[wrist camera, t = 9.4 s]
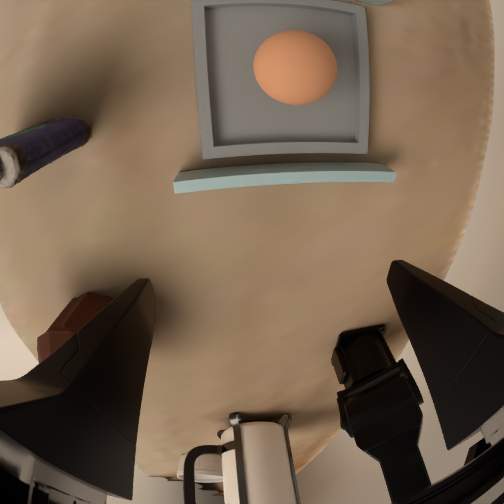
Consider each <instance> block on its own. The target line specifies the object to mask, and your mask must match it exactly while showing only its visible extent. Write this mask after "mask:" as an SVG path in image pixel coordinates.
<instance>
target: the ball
mask: <svg viewBox="0 0 504 504" xmlns="http://www.w3.org/2000/svg"><path fill="white" fill-rule="evenodd" d="M253 69H254V74H255V78H256V80H257V82H258V84H259V85H260V87H261V88H262V89H263V91H264V92H265V93H266V94H268V95H269V96H270V97H272V98H273V99H275V100H277V101H279V102H282V103H285V104H290V105H305V104H310V103H313V102H315V101H318V100H319V99H321V98H323V97H324V96H325V95H326V94H327V93H328V92H329V91H330V90H331V88H332V87H333V85H334V83H335V81H336V77H337V62H336V59H335V56H334V54H333V52H332V50H331V49H330V47H329V46H328V45H327V44H326V43H325V42H324V41H323V40H322V39H320V38H319V37H317V36H315V35H313V34H311V33H308V32H305V31H300V30H287V31H282V32H278V33H276V34H273V35H272V36H270V37H268V38H267V39H266V40H265V41H264V42H263V43H262V44H261V45H260V46H259V48H258V50H257V52H256V54H255V57H254V62H253Z"/></svg>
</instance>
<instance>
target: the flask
mask: <svg viewBox="0 0 504 504" xmlns="http://www.w3.org/2000/svg"><path fill="white" fill-rule="evenodd" d="M90 133H91V128H90V125H89V123H88V121H87V120H85V119H83V118H77V117H70V118H61V119H56V120H55V119H54V120H52V121H47V122H44V123H43V124H40V125H38V126H35V127H31V128H28V129H25V130H23V131H20V132H17V133H15V134H12V135H9V136H6V137H4V138H2V139H0V188H2V189H3V188H11V187H13V186H14V185H16V184H17V183H19V182H21V181H22V180H23V179H24V178H26V177H28V176H29V175H30V174H32V173H34V172H36V171H38V170H39V169H40V168H42V167H44V166H46V165H47V164H49V163H52V162H53V161H55V160H56V159H58V158H60V157H62V156H63V155H65V154H67V153H69V152H71V151H73V150H75V149H77V148H79V147H82V146H84V145H85V144H86V142H87V141H88V140H89V138H91V135H90Z"/></svg>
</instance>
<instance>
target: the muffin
mask: <svg viewBox="0 0 504 504" xmlns="http://www.w3.org/2000/svg"><path fill="white" fill-rule="evenodd" d="M112 300H114V299H113V298H112V297H106V296H99V295H96V294H93V293H90V292H87V293H85V294H84V295H82V296H81V297H77V298H74V299H72V300H71V301H70V302H69V304H68V305H67V306H66V307H65V309H64V310H63V311H62V312H61V313H60V315H59V316H58V317H57V319H56V320H55V321H54V322H53V324H52V325H51V326H50V328H49V329H48V330H47V331H46V332H45V333H44V334H42V335H41V336H39V337H38V339H37V351H38V359H39V363H41V362H42V361H43V360H44V359H46V358H47V357H48V356H49V355H51V354H52V353H53V352H54V351H55V350H57V349H58V348H59V347H60V346H61V345H63V344H64V343H65V342H66V341H67V340H68V339H69V338H70V337H72V336H73V335H74V334H75V333H77V331H78V330H79V329H80V328H82V327H83V326H84V325H85V324H86V323H87V322H88V321H89V320H91V319H92V318H93V317H94V316H95V315H96V314H97V313H99V312H100V311H101V310H102V309H103V308H104V307H105V306H107V305H108V304H109V303H110V302H111V301H112Z"/></svg>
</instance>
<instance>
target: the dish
mask: <svg viewBox="0 0 504 504" xmlns="http://www.w3.org/2000/svg"><path fill="white" fill-rule="evenodd" d="M192 26H193V46H194V63H195V78H196V91H197V103H198V115H199V126H200V136H201V146H202V156H203V160H204V159H213V158H223V157H235V156H248V155H265V154H288V153H354V154H367V152H368V135H369V105H370V78H369V50H368V34H367V23H366V13H365V7H363V6H359V5H354V4H350V3H345V2H339V1H334V0H192ZM287 30H300V31H305V32H308V33H311V34H313V35H315V36H317V37H319V38H320V39H322V40H323V41H324V42H325V43H326V44H327V45H328V46H329V47H330V49H331V50H332V52H333V54H334V56H335V59H336V62H337V77H336V81H335V83H334V85H333V87H332V88H331V90H330V91H329V92H328V93H327V94H326V95H325V96H324V97H323V98H321V99H319V100H318V101H315V102H313V103H310V104H305V105H290V104H285V103H282V102H279V101H277V100H275V99H273V98H272V97H270V96H269V95H268V94H266V93H265V92H264V91H263V89H262V88H261V87H260V85H259V84H258V82H257V80H256V78H255V74H254V69H253V62H254V57H255V54H256V52H257V50H258V48H259V46H260V45H261V44H262V43H263V42H264V41H265V40H266V39H267V38H268V37H270V36H272V35H273V34H276V33H278V32H282V31H287Z"/></svg>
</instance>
